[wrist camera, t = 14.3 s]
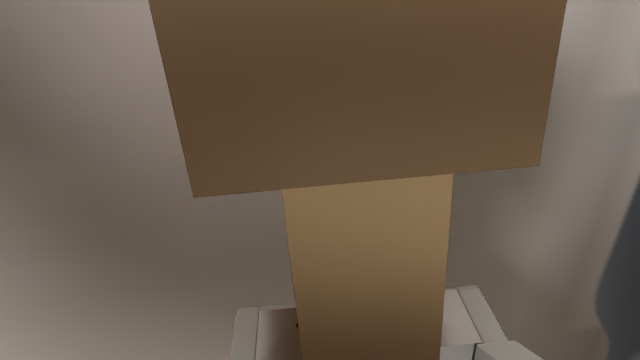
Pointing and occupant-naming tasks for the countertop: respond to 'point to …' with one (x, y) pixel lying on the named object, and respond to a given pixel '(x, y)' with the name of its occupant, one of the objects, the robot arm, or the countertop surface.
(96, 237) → the countertop surface
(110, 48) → the countertop surface
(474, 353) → the robot arm
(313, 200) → the wooden bridge block
